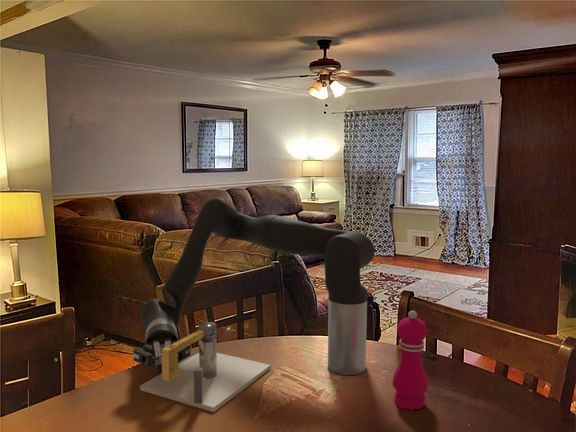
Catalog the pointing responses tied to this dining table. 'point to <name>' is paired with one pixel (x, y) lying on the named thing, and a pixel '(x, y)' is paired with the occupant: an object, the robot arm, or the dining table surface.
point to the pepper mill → (411, 364)
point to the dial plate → (207, 382)
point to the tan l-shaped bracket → (171, 352)
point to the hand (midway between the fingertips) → (163, 368)
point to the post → (208, 358)
